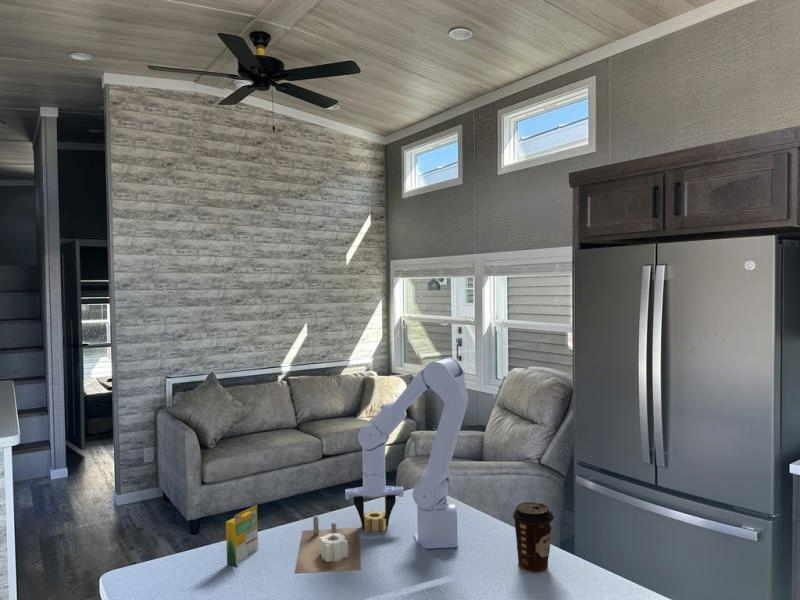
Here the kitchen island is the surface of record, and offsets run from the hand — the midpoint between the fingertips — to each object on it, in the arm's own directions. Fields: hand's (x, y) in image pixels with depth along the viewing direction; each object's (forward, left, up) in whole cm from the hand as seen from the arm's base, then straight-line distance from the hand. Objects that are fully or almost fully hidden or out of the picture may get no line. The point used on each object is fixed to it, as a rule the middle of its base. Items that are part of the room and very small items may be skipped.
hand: (374, 525), depth 148 cm
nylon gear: (+10, +15, 0) cm, 18 cm away
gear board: (+11, +11, -1) cm, 16 cm away
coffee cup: (-33, +23, -2) cm, 41 cm away
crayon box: (+31, +12, -2) cm, 33 cm away
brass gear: (0, 0, -1) cm, 1 cm away
